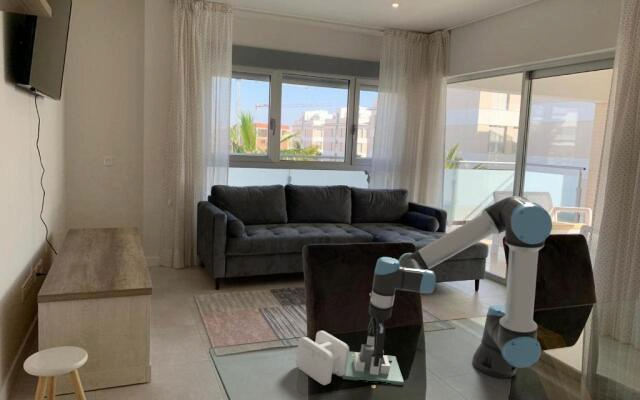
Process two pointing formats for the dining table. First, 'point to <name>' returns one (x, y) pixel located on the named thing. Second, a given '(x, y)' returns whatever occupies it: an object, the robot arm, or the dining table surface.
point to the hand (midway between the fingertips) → (371, 363)
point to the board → (386, 374)
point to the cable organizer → (322, 357)
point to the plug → (368, 356)
